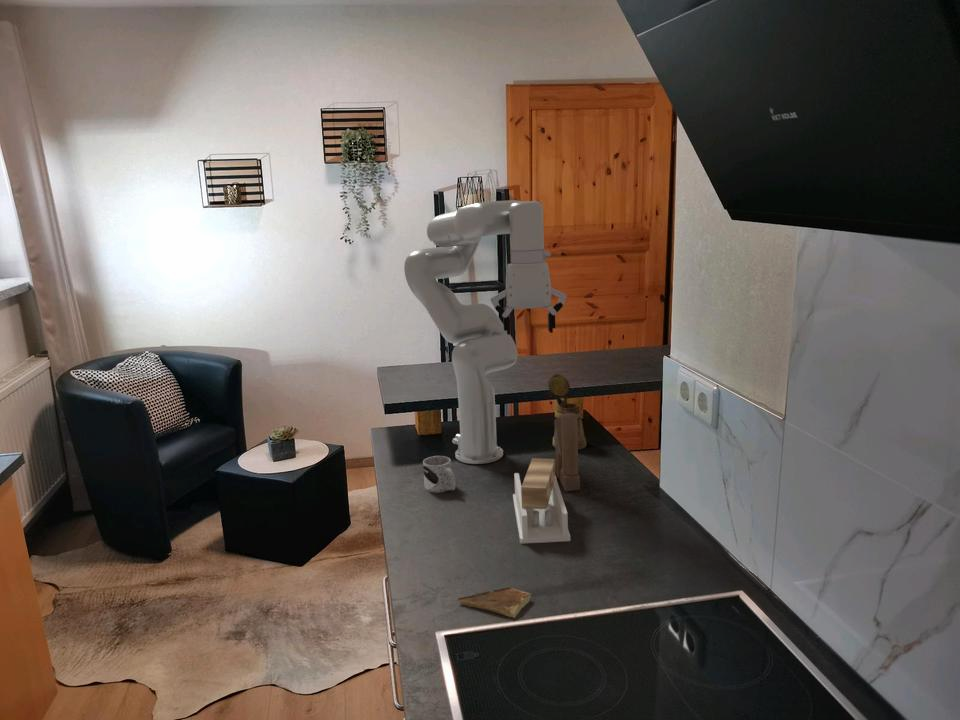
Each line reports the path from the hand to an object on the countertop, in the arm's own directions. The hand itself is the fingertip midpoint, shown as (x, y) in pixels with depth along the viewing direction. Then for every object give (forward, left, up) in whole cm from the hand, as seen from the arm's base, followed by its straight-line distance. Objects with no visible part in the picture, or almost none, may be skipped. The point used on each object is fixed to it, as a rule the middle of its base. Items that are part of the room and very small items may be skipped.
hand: (529, 332), depth 171 cm
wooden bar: (+14, -15, -30) cm, 37 cm away
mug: (-14, -17, -37) cm, 43 cm away
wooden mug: (-10, +26, -36) cm, 46 cm away
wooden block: (+7, +4, -36) cm, 37 cm away
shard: (+30, -46, -37) cm, 66 cm away
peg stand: (+14, -15, -36) cm, 42 cm away
